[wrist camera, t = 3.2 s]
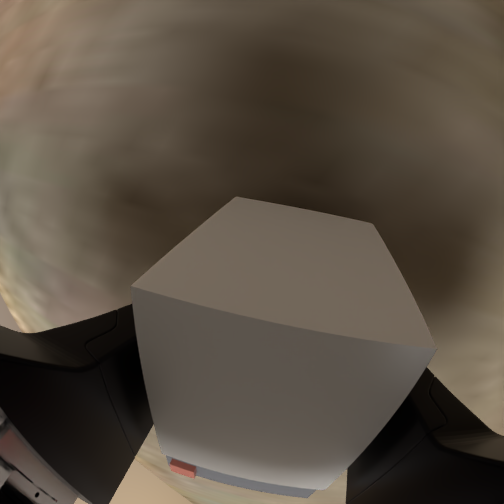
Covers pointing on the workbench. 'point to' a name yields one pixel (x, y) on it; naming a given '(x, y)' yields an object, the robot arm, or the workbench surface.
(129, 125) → the workbench surface
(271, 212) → the plug
